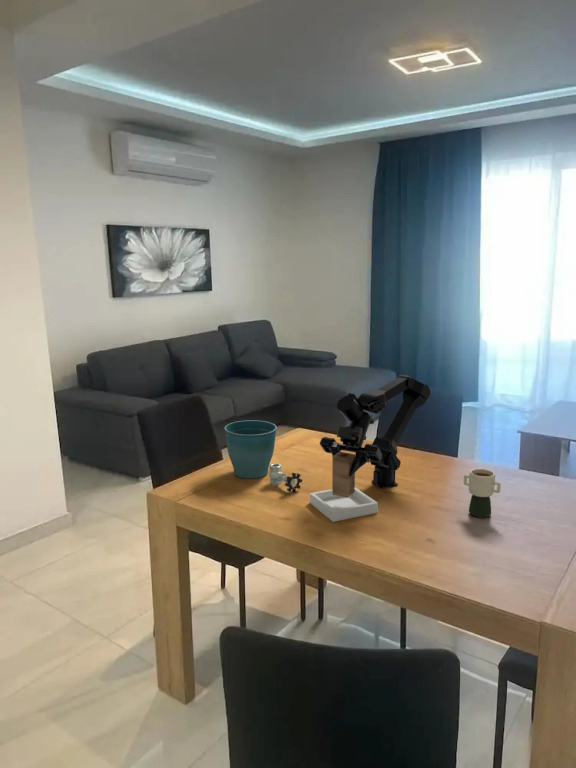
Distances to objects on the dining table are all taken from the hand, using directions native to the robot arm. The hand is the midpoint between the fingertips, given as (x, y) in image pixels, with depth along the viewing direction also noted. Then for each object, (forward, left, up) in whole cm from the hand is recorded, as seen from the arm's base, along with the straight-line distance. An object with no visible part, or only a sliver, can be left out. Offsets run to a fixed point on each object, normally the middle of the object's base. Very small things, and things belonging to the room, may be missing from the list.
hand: (341, 474), depth 172 cm
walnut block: (-1, -1, -7) cm, 7 cm away
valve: (+9, -24, -11) cm, 28 cm away
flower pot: (+14, -40, -11) cm, 44 cm away
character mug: (-35, +20, -11) cm, 42 cm away
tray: (-1, -1, -11) cm, 11 cm away
